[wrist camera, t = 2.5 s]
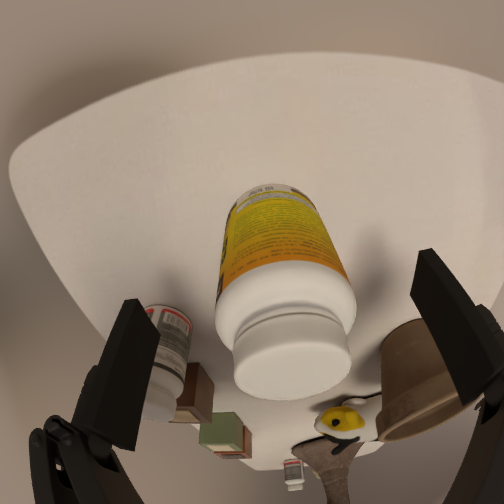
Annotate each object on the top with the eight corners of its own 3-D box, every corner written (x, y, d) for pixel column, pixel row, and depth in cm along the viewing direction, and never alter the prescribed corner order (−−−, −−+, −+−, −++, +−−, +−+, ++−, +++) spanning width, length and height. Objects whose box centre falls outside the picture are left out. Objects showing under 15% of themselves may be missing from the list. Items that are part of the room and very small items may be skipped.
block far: (200, 413, 34) (198, 444, 29) (234, 412, 33) (234, 444, 29) (212, 423, 36) (210, 452, 32) (242, 422, 36) (242, 452, 32)
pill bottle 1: (147, 338, 23) (127, 418, 16) (132, 302, 20) (100, 391, 13) (197, 340, 23) (185, 427, 16) (188, 304, 20) (169, 402, 13)
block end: (215, 426, 37) (213, 454, 33) (245, 425, 37) (245, 453, 32) (224, 434, 40) (223, 459, 36) (251, 433, 39) (252, 459, 35)
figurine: (328, 387, 29) (338, 445, 23) (409, 385, 32) (423, 429, 25) (299, 411, 34) (304, 461, 27) (377, 409, 36) (386, 449, 30)
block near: (155, 364, 26) (146, 406, 21) (199, 362, 25) (193, 407, 21) (174, 385, 28) (169, 423, 24) (214, 384, 28) (211, 424, 24)
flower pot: (334, 362, 26) (352, 450, 17) (410, 286, 20) (461, 386, 12) (400, 371, 29) (421, 437, 20) (463, 312, 23) (501, 382, 14)
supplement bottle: (214, 193, 15) (177, 343, 7) (309, 171, 15) (386, 303, 6) (240, 268, 18) (237, 415, 10) (321, 250, 18) (368, 392, 9)
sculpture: (303, 436, 42) (311, 527, 25) (379, 425, 43) (394, 504, 27) (284, 453, 51) (288, 523, 35) (347, 446, 53) (357, 511, 36)
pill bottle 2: (279, 461, 58) (281, 491, 50) (294, 458, 56) (296, 489, 48) (292, 462, 60) (294, 490, 52) (306, 458, 58) (309, 488, 50)
